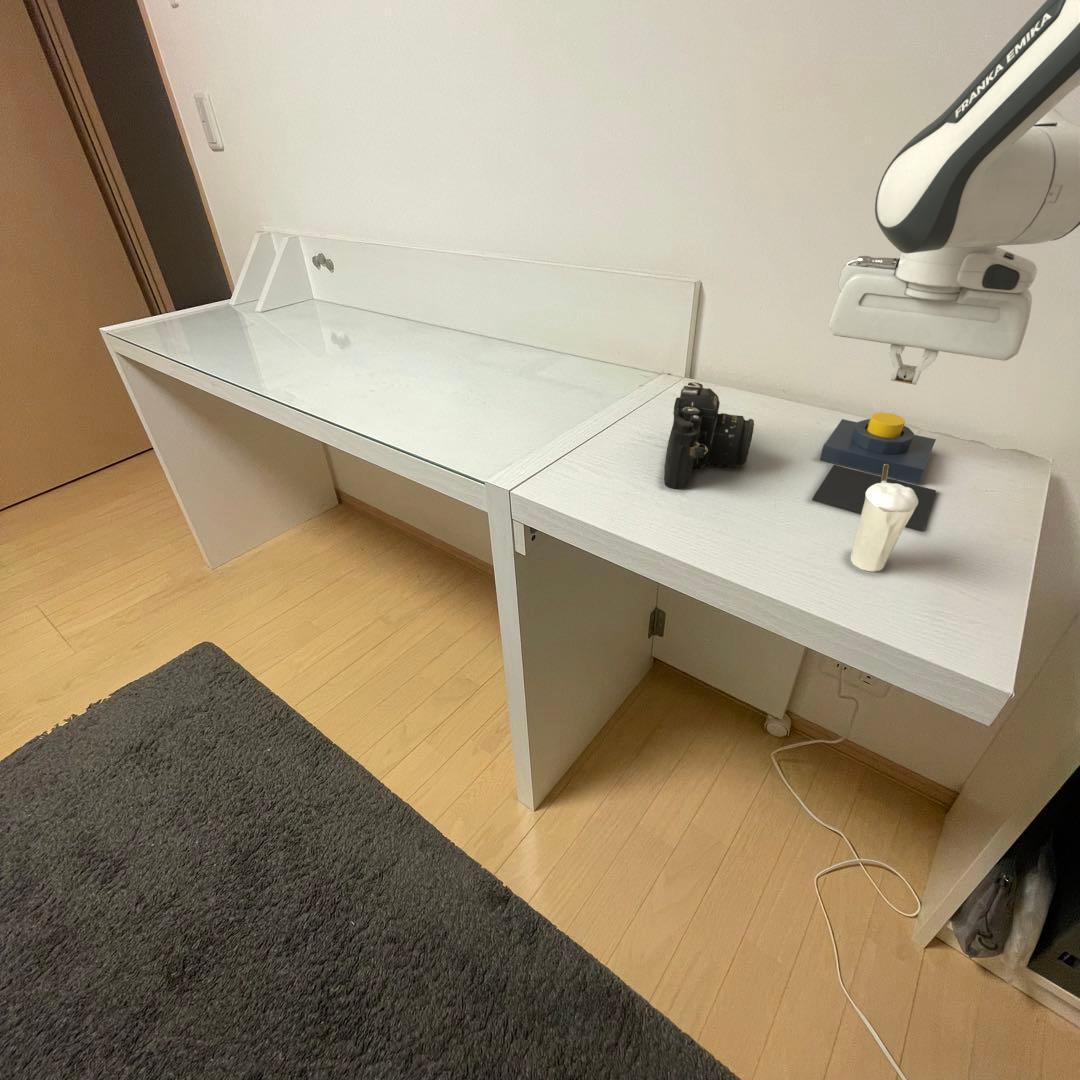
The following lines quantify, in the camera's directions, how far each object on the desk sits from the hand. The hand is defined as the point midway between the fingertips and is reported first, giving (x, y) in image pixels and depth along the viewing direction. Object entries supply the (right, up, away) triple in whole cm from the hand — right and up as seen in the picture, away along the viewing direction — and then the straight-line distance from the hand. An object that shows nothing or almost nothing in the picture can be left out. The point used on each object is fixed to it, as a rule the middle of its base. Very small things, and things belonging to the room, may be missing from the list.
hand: (903, 381), depth 76 cm
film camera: (-24, -9, +6) cm, 26 cm away
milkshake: (-11, -22, -12) cm, 28 cm away
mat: (-5, -15, -2) cm, 16 cm away
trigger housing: (0, -9, +6) cm, 11 cm away
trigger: (0, -6, +4) cm, 7 cm away
